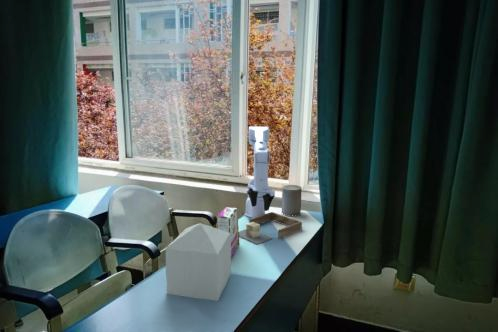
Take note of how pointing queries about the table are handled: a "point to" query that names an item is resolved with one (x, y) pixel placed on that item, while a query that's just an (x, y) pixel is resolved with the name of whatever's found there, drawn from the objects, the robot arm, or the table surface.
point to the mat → (255, 240)
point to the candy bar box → (229, 225)
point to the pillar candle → (291, 200)
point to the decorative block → (199, 262)
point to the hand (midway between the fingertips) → (260, 208)
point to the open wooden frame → (292, 223)
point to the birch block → (252, 229)
